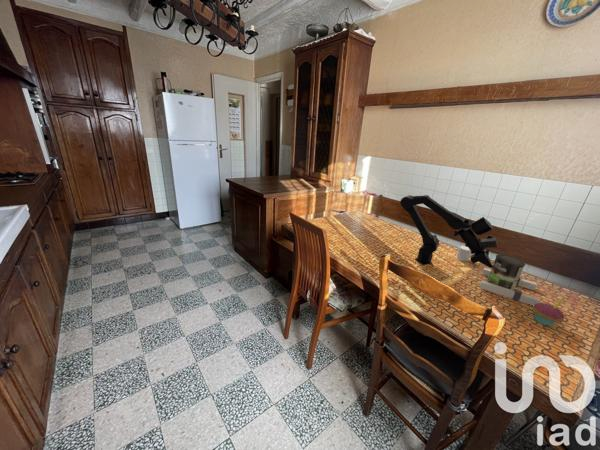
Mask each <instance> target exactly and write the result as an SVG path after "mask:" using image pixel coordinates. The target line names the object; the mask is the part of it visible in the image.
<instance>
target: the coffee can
mask: <svg viewBox="0 0 600 450" xmlns="http://www.w3.org/2000/svg"><path fill="white" fill-rule="evenodd" d="M492 266H493V267H492V268H490V270H491V272H490V275H489V277H488V276H487V277H488V278H487V280H486V282H488V283H491V284H495V285H498V286H501V287H504V288H507V289H510V290H513V291H515V289H516V286H517V285H516V284H517V281H518V279H519V277H520V278H521V274H522V272H523V270H524V268H525V266H526V262H525V261H524V260H523V259H520V258H518V257H516V256H513V255H508V254H504V253H500V254H496V255H495V258H494V262H493V264H492Z"/></svg>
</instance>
